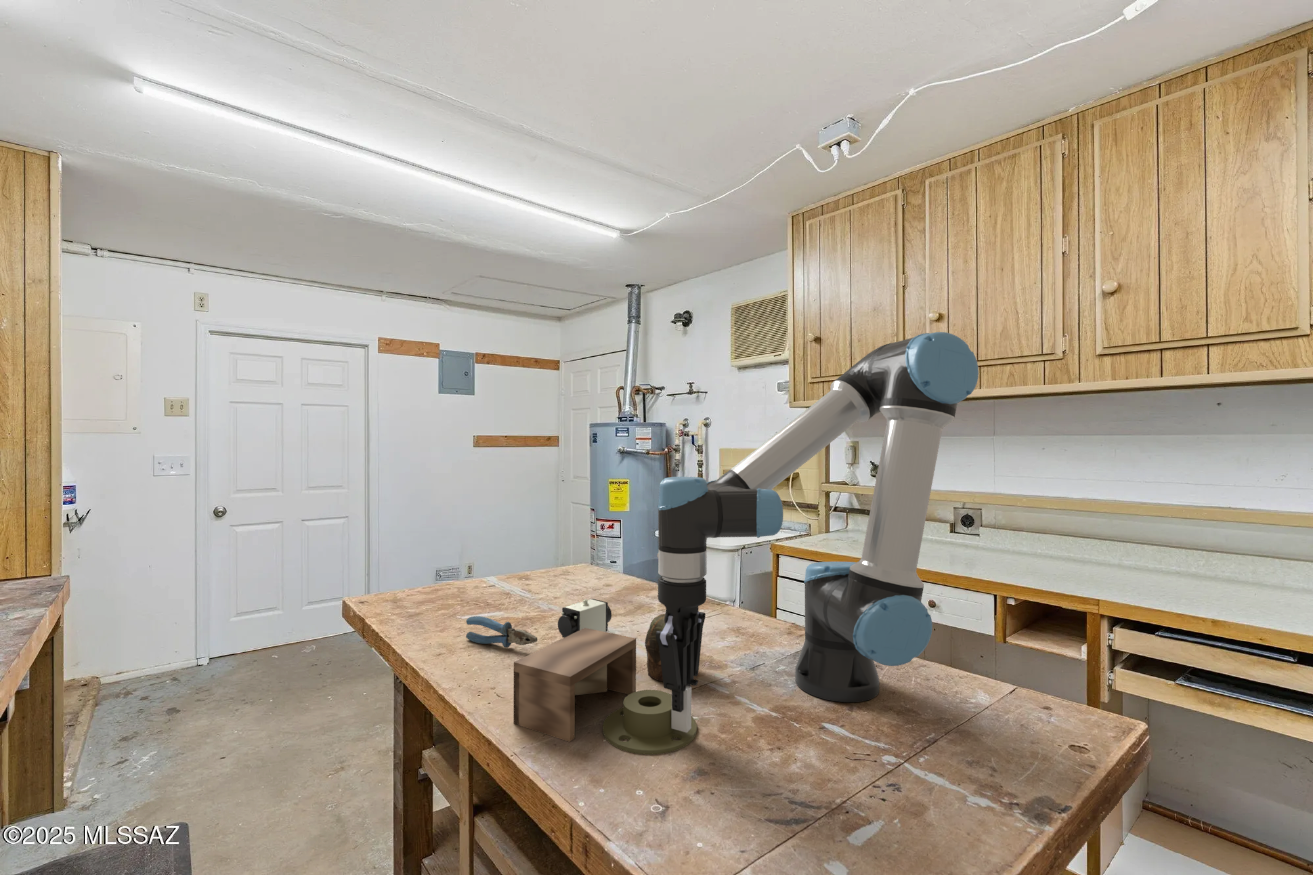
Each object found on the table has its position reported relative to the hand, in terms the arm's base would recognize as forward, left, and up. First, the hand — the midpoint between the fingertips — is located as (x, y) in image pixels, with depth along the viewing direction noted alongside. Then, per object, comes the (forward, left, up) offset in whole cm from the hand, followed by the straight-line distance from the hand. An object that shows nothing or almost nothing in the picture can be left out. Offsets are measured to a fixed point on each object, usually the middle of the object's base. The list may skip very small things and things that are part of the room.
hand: (681, 728), depth 90 cm
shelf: (+19, 0, -2) cm, 19 cm away
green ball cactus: (+12, -21, -2) cm, 24 cm away
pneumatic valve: (+33, -20, -2) cm, 39 cm away
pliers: (+52, -15, -2) cm, 54 cm away
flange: (+6, 0, -2) cm, 6 cm away
